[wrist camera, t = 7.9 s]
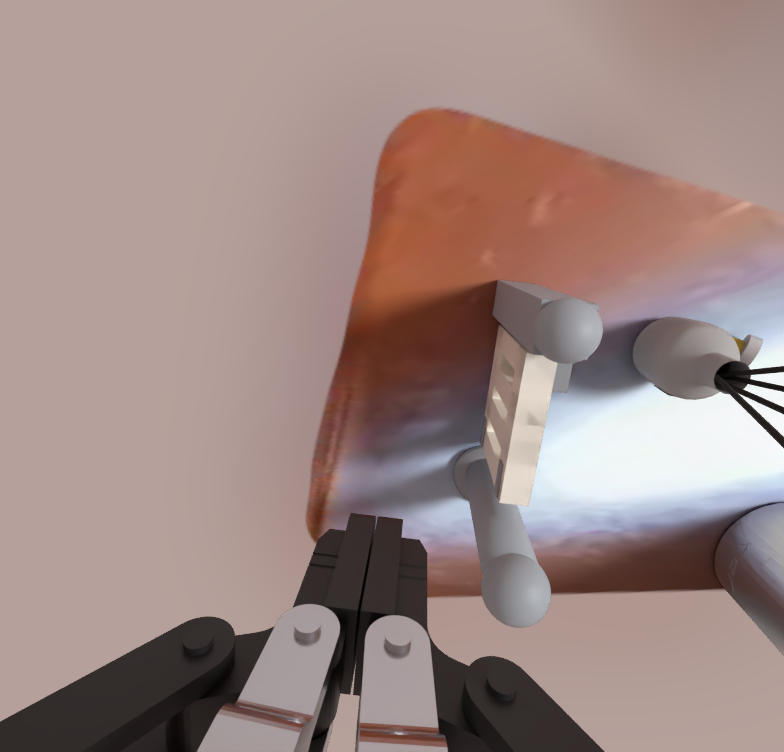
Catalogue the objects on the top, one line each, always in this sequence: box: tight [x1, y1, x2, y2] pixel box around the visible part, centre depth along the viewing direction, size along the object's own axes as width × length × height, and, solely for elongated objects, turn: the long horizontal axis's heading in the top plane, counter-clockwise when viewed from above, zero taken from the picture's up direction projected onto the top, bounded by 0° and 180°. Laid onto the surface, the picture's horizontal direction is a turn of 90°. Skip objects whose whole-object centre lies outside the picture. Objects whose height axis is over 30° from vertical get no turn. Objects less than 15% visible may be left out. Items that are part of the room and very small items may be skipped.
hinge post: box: [454, 445, 551, 628], centre depth 28 cm, size 5×5×14 cm
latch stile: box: [493, 280, 603, 393], centre depth 25 cm, size 4×6×14 cm
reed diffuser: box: [632, 317, 784, 448], centre depth 21 cm, size 10×7×20 cm
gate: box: [480, 325, 557, 506], centre depth 28 cm, size 8×2×9 cm, turn 174°
